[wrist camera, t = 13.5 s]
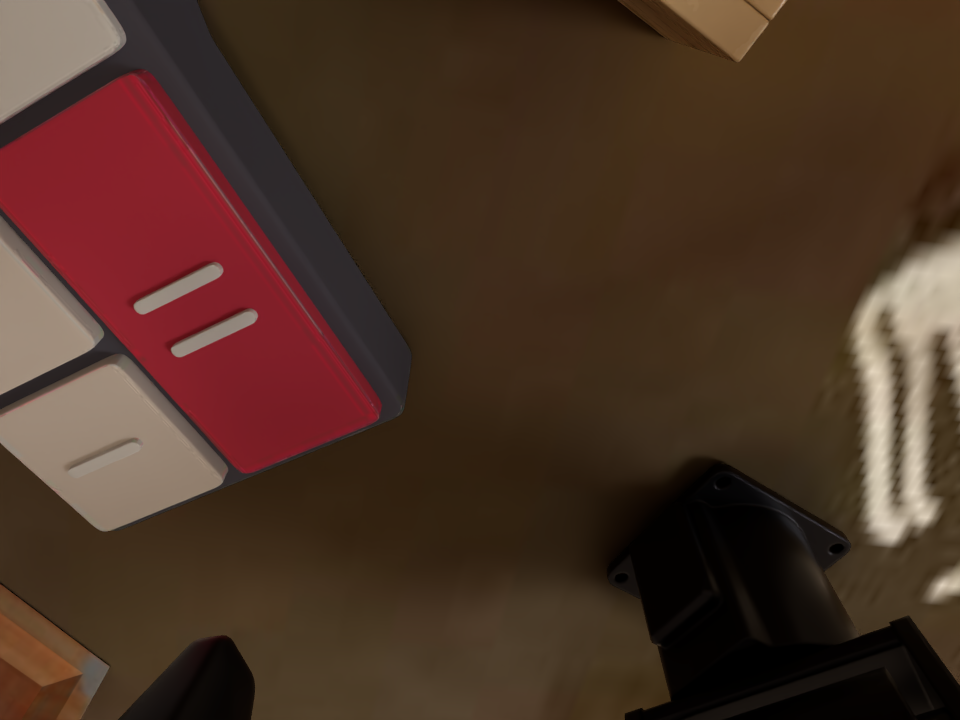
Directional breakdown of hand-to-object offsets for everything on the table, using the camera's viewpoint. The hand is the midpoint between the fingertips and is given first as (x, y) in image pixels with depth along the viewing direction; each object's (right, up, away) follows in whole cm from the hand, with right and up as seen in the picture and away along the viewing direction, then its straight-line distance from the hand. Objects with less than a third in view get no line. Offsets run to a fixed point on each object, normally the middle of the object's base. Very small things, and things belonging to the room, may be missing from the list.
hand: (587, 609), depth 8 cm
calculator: (-11, +7, +11) cm, 18 cm away
